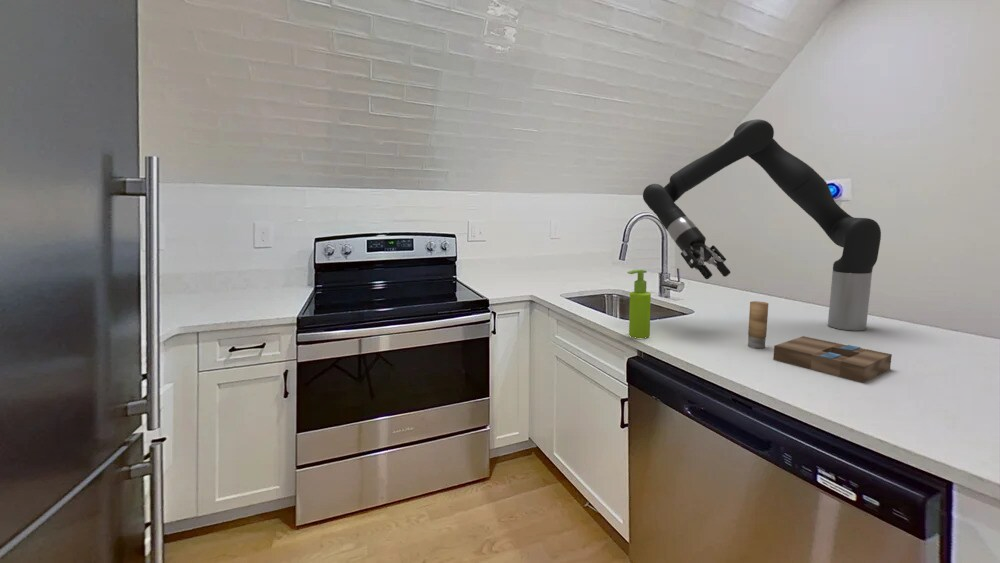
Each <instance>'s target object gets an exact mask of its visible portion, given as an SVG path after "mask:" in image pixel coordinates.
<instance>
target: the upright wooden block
mask: <svg viewBox="0 0 1000 563" xmlns="http://www.w3.org/2000/svg"><path fill="white" fill-rule="evenodd" d="M748 315H749V316H748V317H749V318H748V330H747V335H748V338H747V346H748V348H752V349H765V348H766V338H767V331H768V319H769V318H768V317H769V316H768V315H769V302H766V301H756V300H755V301H750V302H749V314H748Z"/></svg>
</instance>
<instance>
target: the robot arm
mask: <svg viewBox="0 0 1000 563" xmlns="http://www.w3.org/2000/svg"><path fill="white" fill-rule="evenodd" d="M774 136H775V131H774V127H773V125H772V124H771V123H770V122H768V120H764V119H751V120H746V121H744V122H742V123H740V124H739V125H738V126H737V127H736V128H735V130H734V132H733V136H732V137H731V138H730V139H729V140H727V141H726V142H725V143H723V144H721V145H720V146H719V147H717V148H716V149H714V150H712V151H710V152H709V153H707V154H705V155H703V156H701V157H699V158H696V159H695V160H693V161H691V162H690V163H689V164H687V165H685V166H684V167H682V168H679V170H677V171H676V172H674V173H673V174H672V175H671V176H670V177H669V182H668V183H667V184H666V185H665V186H663V185H661V184H658V183H651V184H648V185H647V186H645V188H644V189H643V193H642V200H643V201H644V203H645V205H647V206H648V208H649V209H650V210H651V211H652V212H653V213H654V214H655V216H656V217H657V218H658V220H659V221H660V223H661V225H662V226H663V227H664V229H665V230H666V231H667V232H668V234H669V236H670V238H671V239H672V240H673V242H674V243H675V244H676V246H678V248H679V250H681V252H680V256H681V257H682V258H683V259H684V261H685V263H686V264H687V266H688V267H689V268H690V269H695V270H697V271H699V272H700V274H701V275H702V276H703V278H704V279H705V280H709V279H710V278H711V277H713V273H712V272H711V270H710V269H709V268H708V266H707V265H706V264H708V265H713V266H714V267H716V269H717V270H718V271H719V273H720V274H721V276H723V278H724V277H728V276H729V275H731V271H730V269H729V268H728V266H726V264H725V263H724V262H726V260H727V258H726V257H725V256H724V255H723V254H722V253H721V251H719V249H718V248H717V247H716V246H715V245H712V246H711V247H709V246H708V245H706V240H707V239H706V236H705V235H704V234H703V233H702V232H701V231H700V229H699V227H698V226H697V225H696V224H695V223H694V222H693V221H692V220H691V219H690V218H689V217H688V216H687V215H686V214H685V212H684V211H683V210H682V209H681V208H680V207H679V206H678V204H676V202H677V201H678V200H679V199H680V198H681V197H682V196H683V195H684V194H685V193H687V192H688V191H690V190H692V189H694V188H695V187H697V186H698V185H700V184H701V183H703V182H705V181H706V180H707V179H709V178H711V177H712V176H713V175H715V174H717V173H718V172H720V171H721V170H723V169H725V168H727V167H728V166H730V165H732V164H734V163H736V162H737V161H740V160H742V159H744V158H746V157H748V158H750V159H751V160H753V161H754V162H755V163H756V164H757V165H758V166H760V167H761V168H762V169H763V170H764V172H765V173H766V174H767V175H768V176H769V178H770V179H771V180H772V181H773V183H775V184H776V185H777V186H778V187H779V188H780V189H781V191H782V192H784V193H785V195H787V197H788V198H790V199H791V200H792V201H793V202H794V203H795V204H796V205H798V206H799V208H801V209H802V210H803V211H804V212H805V213H806V214H808V216H809V217H811V218H812V219H813V220H814V221H815V222H816V223H817V224H818V226H819V227H820V228H821V229H822V230H823V231H824V232H825V234H826V235H827V237H829V238H828V239H830V240H831V241H832V242H833V243H834V245H836V246H838V247H839V248H843V249H842V253H841V254H842V255H841V257H840V258H839V259H837V260H835V261H834V262H833V264H832V274H831V284H830V286H831V287H830V295H829V296H830V298H829V307H828V308H829V309H828V315H827V316H828V318H827V326H829V327H831V328H834V329H839V330H844V331H859V332H860V331H865V330H867V325H868V324H867V323H868V314H869V306H870V304H869V303H870V295H871V285H872V275H873V270H874V269H873V268H874V266H875V265H876V263H877V260H878V257H879V250H880V244H881V239H882V238H881V237H882V232H881V231H882V230H881V226H880V225H879V223H878V222H877V221H876V220H874V219H872V218H869V217H868V218H866V217H853V216H851V215H850V214H849V213H847V211H845V210H844V209H843V208H842V207H841V206H840V205H839V204H837V202H836V201H835V199H834V197H833V194H832V192H831V189H830V187H829V185H828V183H827V181H826V180H825V179H824V178H823V177H822V176H821V175H820V174H819V173H818V172H817V171H816V170H814V168H813V167H812V166H810V165H809V164H808V163H806V162H804V161H803V160H802V159H800V158H799V157H797V156H795V155H794V154H792V153H790V152H789V151H787V150H786V149H785V148H783V147H782V146H781V145H780V144H779V143H778V142H777V141H776V140H775V139H774ZM691 260H692V261H691ZM705 263H706V264H705Z"/></svg>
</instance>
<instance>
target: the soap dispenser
mask: <svg viewBox="0 0 1000 563" xmlns="http://www.w3.org/2000/svg"><path fill="white" fill-rule="evenodd" d="M647 272H648V271H647V270H644V269H633V270H629V271H627V274H629V275H634V274H637V279H636V280H634V285H633V287H634V290H633V291H631V292H629V310H628V311H629V316H628V317H629V320H628V321H629V322H628V323H629V324H628V336H629V335H630V336H631V337H630V336H629V337H630V338H632V337H636V338H635V339H637V338H645V337H649V336H650V335H651V334H650V333H651V332H650V331H651V330H650V329H651V300H652V299H651V296H652V295H651V292H648V291H647V280H644V276H645V275H644V274H646V273H647ZM649 338H650V337H649Z"/></svg>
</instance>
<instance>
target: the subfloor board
mask: <svg viewBox="0 0 1000 563" xmlns="http://www.w3.org/2000/svg"><path fill="white" fill-rule="evenodd" d="M772 359H773V360H775V361H779V362H782V363H787V364H791V365H794V366H796V367H797V366H798V367H801V368H806V369H809V370H813V371H817V372H820V373H825V374H828V375H832V376H837V377H839V378H844V379H847V380H850V381H855V382H859V383H863V384H864V383H865V382H867V381H869V380H871V379H873V378H875V377H877V376H879V375H881V374H883V373H885V372H887V371H890V370H891V363H892V353H886V352H882V351H878V350H872V349H868V348H864V347H863V348H862V347H861V346H857V345H851V344H842V343H838V342H833V341H829V340H824V339H818V338H813V337H809V336H805V335H803V336H799V337H796V338H794V339H791V340H788V341H784V342H781V343H779V344H775V345H774V346H773V357H772Z"/></svg>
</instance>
